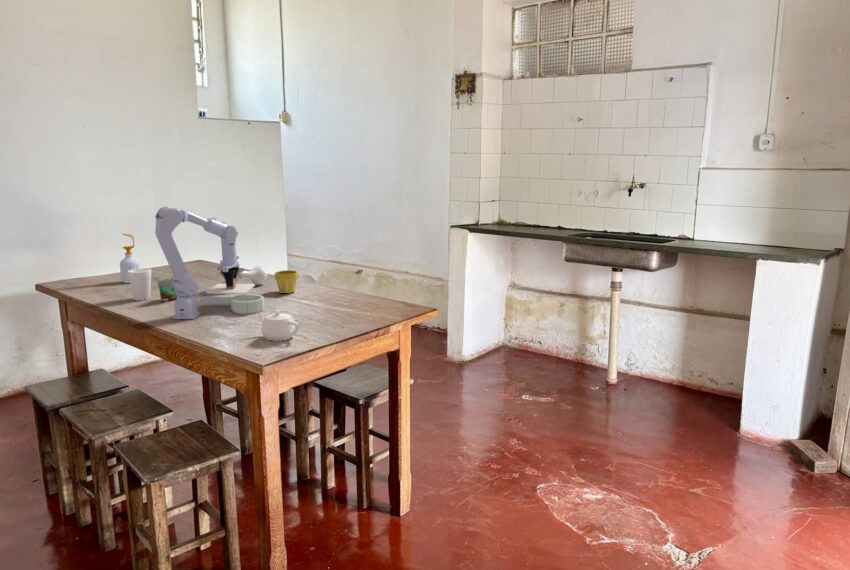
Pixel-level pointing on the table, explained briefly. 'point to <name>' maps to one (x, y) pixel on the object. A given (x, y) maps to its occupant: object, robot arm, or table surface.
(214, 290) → the cover sheet
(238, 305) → the bowl
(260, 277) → the flower vase
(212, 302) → the mat
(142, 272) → the foam cup
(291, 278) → the plant pot
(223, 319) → the table surface
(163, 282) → the food container
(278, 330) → the teapot
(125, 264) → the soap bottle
